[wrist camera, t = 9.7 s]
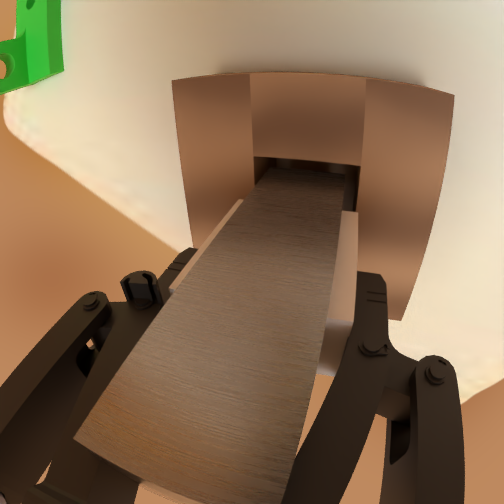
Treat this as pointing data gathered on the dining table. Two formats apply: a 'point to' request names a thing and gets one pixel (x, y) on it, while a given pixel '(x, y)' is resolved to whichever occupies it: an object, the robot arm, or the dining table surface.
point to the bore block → (321, 154)
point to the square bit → (230, 354)
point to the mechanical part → (33, 45)
